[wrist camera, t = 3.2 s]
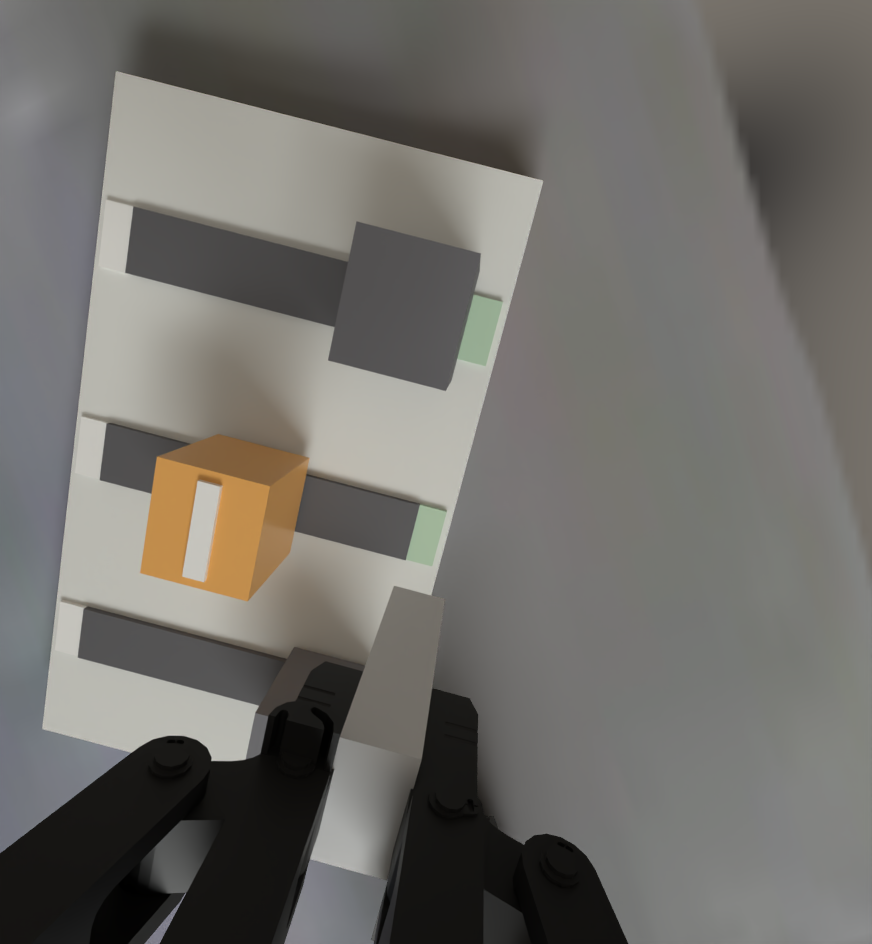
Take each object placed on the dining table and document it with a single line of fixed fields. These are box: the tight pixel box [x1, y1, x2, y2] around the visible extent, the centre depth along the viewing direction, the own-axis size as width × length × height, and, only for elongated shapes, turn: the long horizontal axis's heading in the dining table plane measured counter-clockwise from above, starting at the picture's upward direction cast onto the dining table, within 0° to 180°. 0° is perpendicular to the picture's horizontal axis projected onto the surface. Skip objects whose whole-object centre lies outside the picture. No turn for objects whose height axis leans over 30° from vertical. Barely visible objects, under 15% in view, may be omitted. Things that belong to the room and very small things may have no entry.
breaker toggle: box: [140, 434, 310, 601], centre depth 23 cm, size 4×4×5 cm
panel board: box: [42, 71, 543, 761], centre depth 25 cm, size 17×30×8 cm, turn 166°
